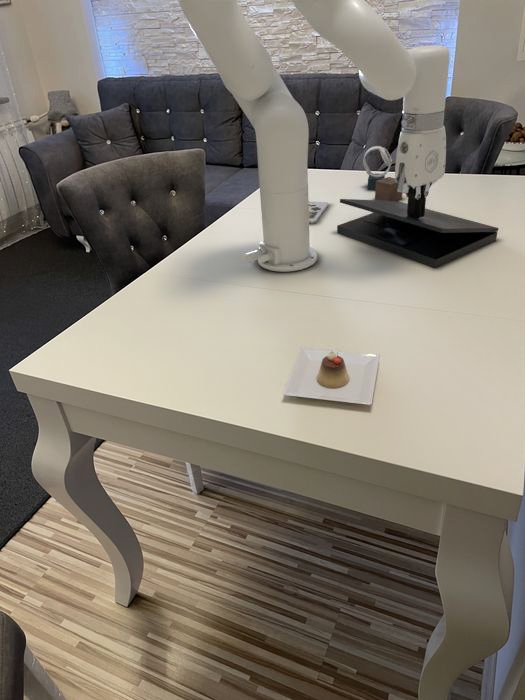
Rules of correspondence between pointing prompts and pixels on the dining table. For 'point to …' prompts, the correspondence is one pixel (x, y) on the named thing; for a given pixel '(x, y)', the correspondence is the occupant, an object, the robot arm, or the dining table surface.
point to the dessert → (333, 376)
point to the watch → (375, 177)
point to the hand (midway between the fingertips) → (415, 215)
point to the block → (387, 190)
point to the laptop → (414, 239)
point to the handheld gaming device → (316, 210)
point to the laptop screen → (429, 220)
